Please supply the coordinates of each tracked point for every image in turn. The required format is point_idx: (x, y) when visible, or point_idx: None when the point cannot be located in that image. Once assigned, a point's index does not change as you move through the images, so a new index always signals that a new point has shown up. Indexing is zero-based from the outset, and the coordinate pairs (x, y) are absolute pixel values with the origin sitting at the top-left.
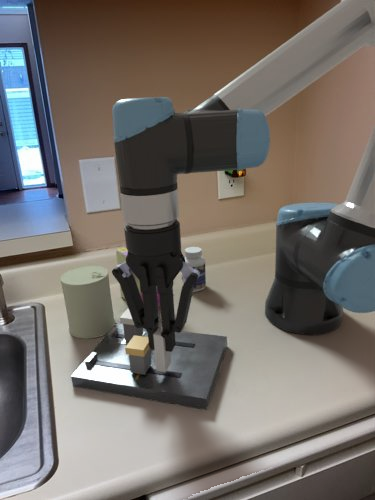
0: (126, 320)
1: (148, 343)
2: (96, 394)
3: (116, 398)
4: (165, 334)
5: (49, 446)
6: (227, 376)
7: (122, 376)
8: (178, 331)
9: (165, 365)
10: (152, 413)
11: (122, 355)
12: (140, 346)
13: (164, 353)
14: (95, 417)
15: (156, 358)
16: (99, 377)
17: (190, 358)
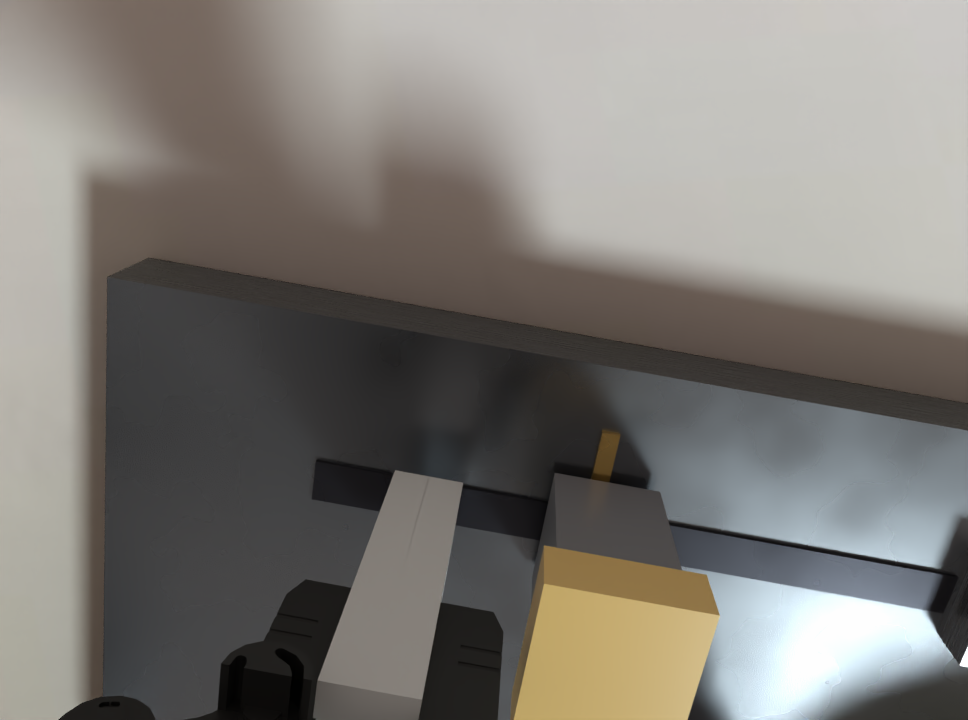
0: None
1: (522, 673)
2: (869, 354)
3: (726, 325)
4: (256, 672)
5: None
6: (86, 526)
7: (714, 460)
8: (113, 709)
9: (384, 500)
10: (467, 212)
11: (756, 658)
12: (581, 630)
13: (363, 562)
14: (833, 155)
15: (444, 538)
16: (882, 447)
17: None
